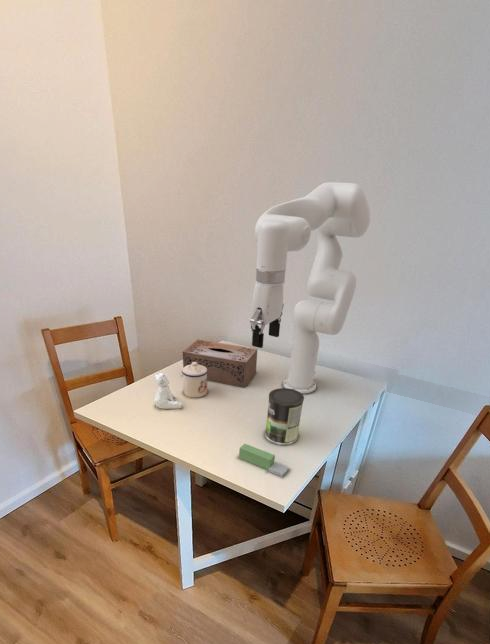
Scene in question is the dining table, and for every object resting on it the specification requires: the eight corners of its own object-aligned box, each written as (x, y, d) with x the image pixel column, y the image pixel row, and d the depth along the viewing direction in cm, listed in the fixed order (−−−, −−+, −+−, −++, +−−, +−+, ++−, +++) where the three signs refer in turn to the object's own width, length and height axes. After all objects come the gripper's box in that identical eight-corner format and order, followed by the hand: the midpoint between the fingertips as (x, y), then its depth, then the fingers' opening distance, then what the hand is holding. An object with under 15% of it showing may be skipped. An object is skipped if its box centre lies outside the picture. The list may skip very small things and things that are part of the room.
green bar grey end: (288, 469, 108) (290, 459, 105) (282, 477, 105) (283, 466, 103) (244, 452, 114) (245, 442, 111) (238, 458, 111) (238, 448, 109)
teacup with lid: (202, 400, 138) (201, 369, 131) (179, 395, 140) (177, 365, 133) (213, 385, 147) (213, 356, 140) (191, 382, 149) (190, 353, 142)
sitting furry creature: (183, 408, 133) (181, 376, 126) (159, 414, 130) (156, 381, 122) (173, 396, 139) (170, 365, 132) (150, 402, 136) (146, 370, 129)
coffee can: (267, 445, 117) (272, 404, 108) (262, 427, 125) (266, 388, 116) (301, 444, 117) (307, 404, 109) (294, 426, 126) (299, 387, 117)
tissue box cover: (183, 375, 153) (182, 351, 147) (198, 362, 164) (197, 339, 158) (244, 387, 147) (246, 362, 141) (255, 372, 158) (257, 348, 152)
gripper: (273, 268, 106) (268, 329, 117) (240, 281, 95) (238, 348, 106) (297, 272, 103) (290, 334, 114) (267, 286, 92) (262, 354, 103)
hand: (265, 341), depth 110 cm, fingers open, 9 cm apart
